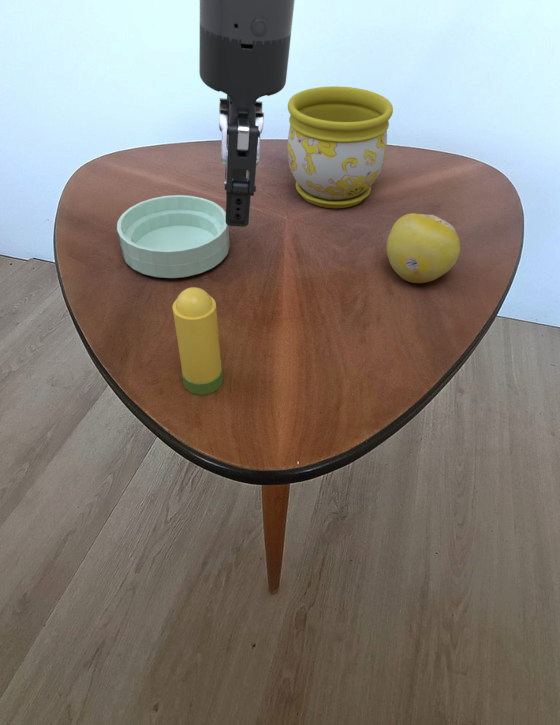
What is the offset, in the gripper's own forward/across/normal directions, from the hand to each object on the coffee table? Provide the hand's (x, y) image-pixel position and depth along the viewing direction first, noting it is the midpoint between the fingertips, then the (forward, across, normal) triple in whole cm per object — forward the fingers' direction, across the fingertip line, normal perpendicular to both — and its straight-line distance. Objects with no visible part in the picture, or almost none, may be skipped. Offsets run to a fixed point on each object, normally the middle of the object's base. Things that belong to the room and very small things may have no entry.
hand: (236, 201), depth 56 cm
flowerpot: (+22, -45, +20) cm, 54 cm away
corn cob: (+23, +4, -3) cm, 24 cm away
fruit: (+21, -18, +30) cm, 40 cm away
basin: (+24, -26, -8) cm, 36 cm away
